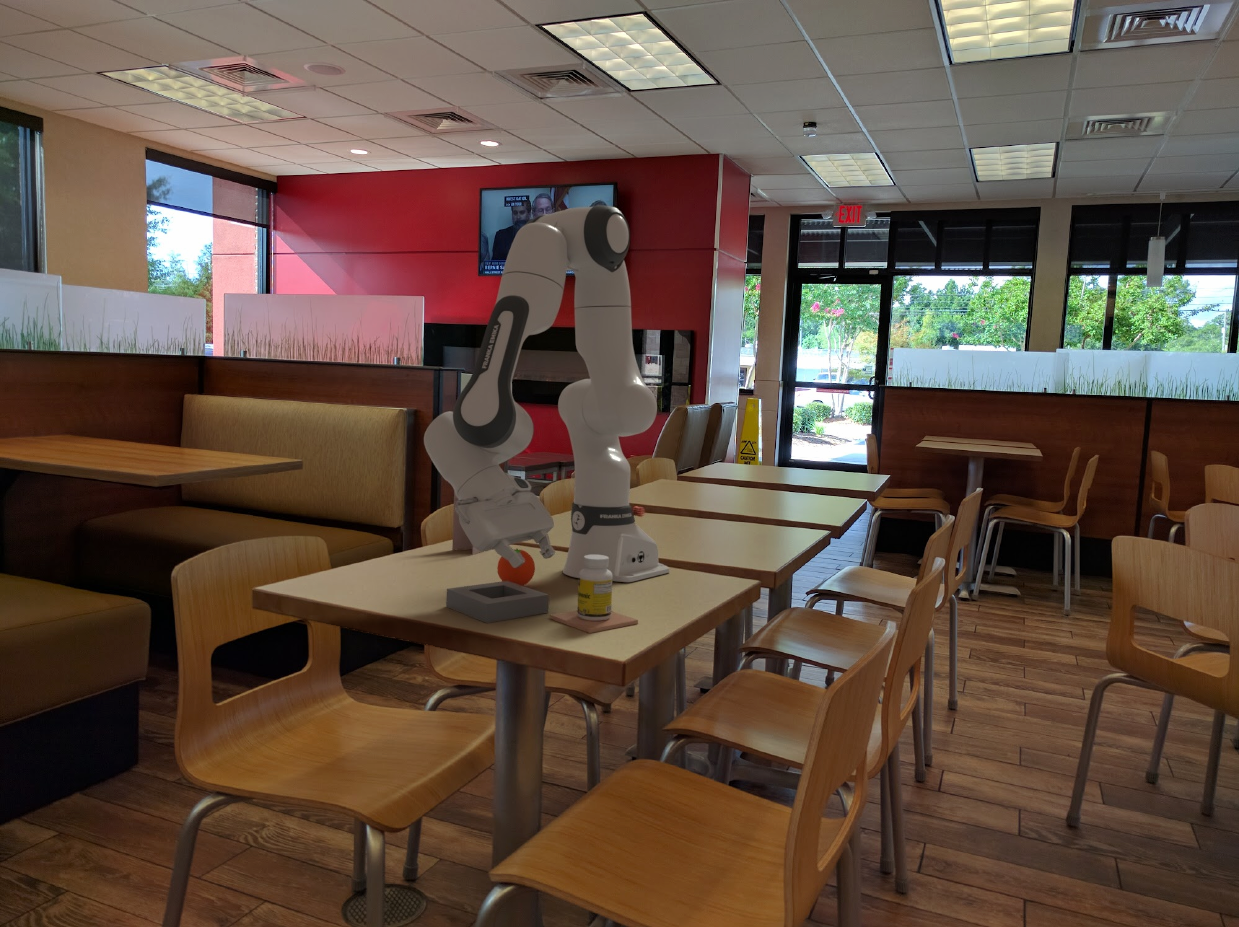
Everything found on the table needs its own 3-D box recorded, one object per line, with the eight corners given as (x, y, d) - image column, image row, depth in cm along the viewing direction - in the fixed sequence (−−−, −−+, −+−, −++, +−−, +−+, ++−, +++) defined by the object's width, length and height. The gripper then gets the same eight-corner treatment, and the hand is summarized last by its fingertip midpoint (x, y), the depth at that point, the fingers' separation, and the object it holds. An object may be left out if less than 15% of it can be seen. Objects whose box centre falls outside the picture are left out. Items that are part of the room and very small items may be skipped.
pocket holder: (506, 597, 152) (507, 580, 152) (548, 612, 143) (549, 594, 143) (446, 606, 144) (446, 588, 144) (486, 623, 135) (487, 604, 135)
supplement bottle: (572, 614, 141) (574, 554, 140) (603, 612, 143) (605, 552, 142) (584, 622, 136) (586, 560, 135) (616, 620, 138) (618, 559, 137)
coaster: (597, 610, 146) (597, 606, 146) (637, 623, 139) (638, 620, 139) (549, 618, 140) (549, 614, 140) (589, 633, 132) (589, 629, 132)
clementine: (531, 593, 156) (532, 553, 156) (492, 591, 156) (494, 552, 156) (536, 583, 164) (537, 546, 164) (499, 581, 164) (501, 544, 164)
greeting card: (498, 546, 200) (500, 481, 199) (511, 552, 194) (514, 485, 193) (450, 549, 194) (452, 482, 193) (463, 555, 188) (465, 486, 187)
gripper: (462, 488, 137) (512, 558, 133) (532, 479, 155) (578, 540, 151) (438, 514, 139) (487, 583, 135) (510, 502, 157) (555, 562, 154)
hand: (535, 560), depth 144 cm, fingers open, 8 cm apart
